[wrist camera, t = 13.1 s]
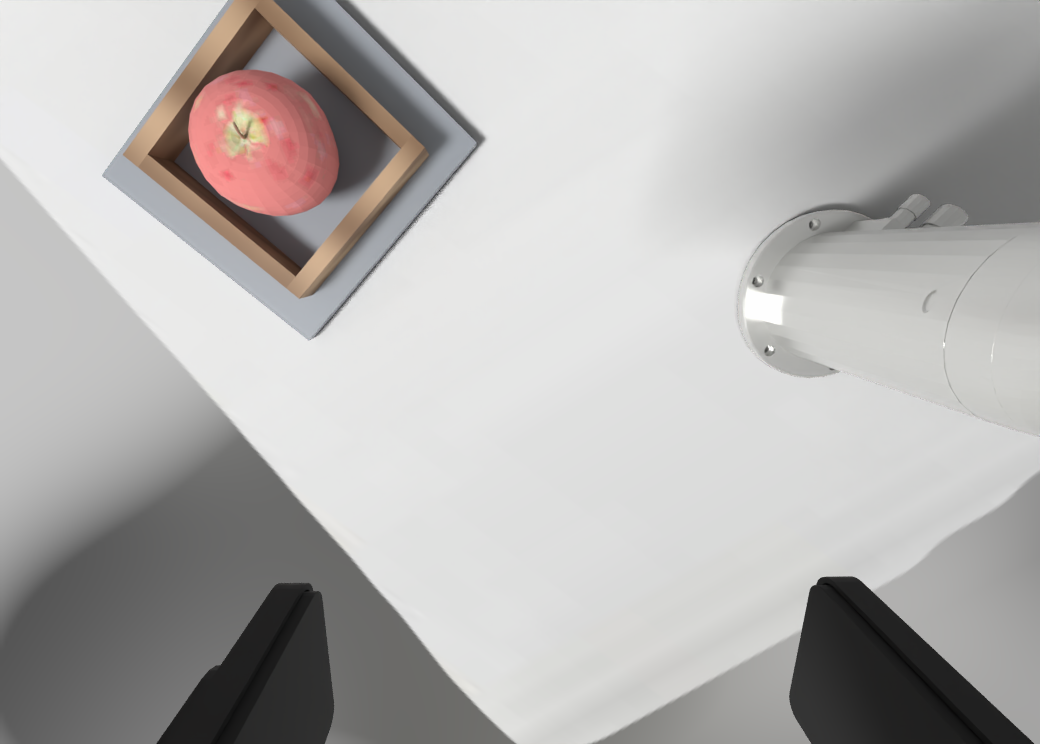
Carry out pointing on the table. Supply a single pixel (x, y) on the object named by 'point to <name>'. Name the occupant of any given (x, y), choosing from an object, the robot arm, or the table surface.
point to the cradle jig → (360, 142)
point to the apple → (263, 143)
